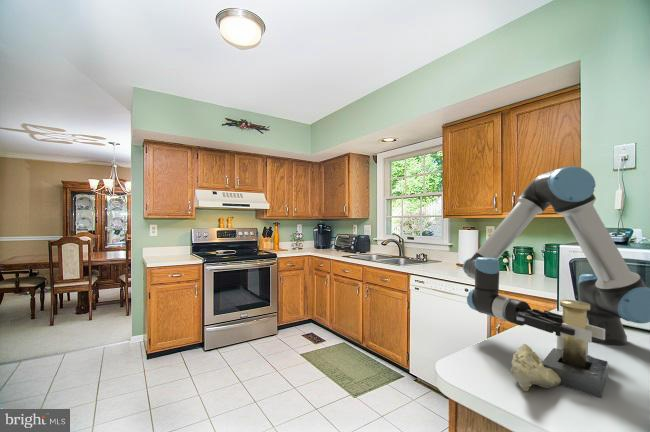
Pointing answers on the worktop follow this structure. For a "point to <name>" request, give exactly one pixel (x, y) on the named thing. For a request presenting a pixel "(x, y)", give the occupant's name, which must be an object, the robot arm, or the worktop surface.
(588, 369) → the block
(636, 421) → the worktop surface
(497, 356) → the worktop surface
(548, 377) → the beige rock
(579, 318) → the brass flanged peg
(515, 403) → the worktop surface
